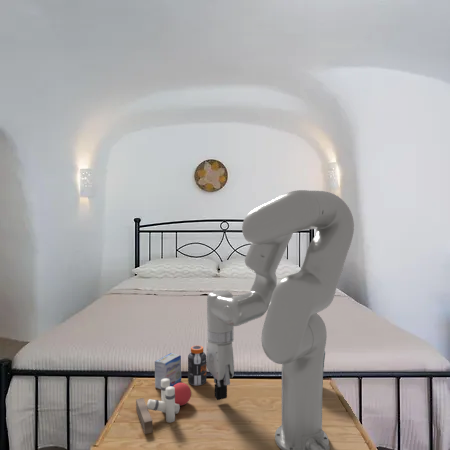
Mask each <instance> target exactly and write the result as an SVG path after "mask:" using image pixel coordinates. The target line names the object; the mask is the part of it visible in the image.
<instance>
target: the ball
mask: <svg viewBox="0 0 450 450" xmlns="http://www.w3.org/2000/svg"><path fill="white" fill-rule="evenodd" d="M173 387H174V388H175V403H176V404H179V405H180V406H184V405H186V404H187V403H189V401H190V399H191V396H192V390H191V387H190V386H189V385H188V384H187V383H185V382H179V383H177V384H175V385H174V386H173Z"/></svg>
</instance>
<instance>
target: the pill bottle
mask: <svg viewBox="0 0 450 450" xmlns="http://www.w3.org/2000/svg"><path fill="white" fill-rule="evenodd" d="M206 361H207V353H205V352H204V346H202V345H193V346H191V347H190V352H189V354H188V356H187V382H188V384H189V385H192V386H202V385H204V384H205V383H206V382H207V366H206Z"/></svg>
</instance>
